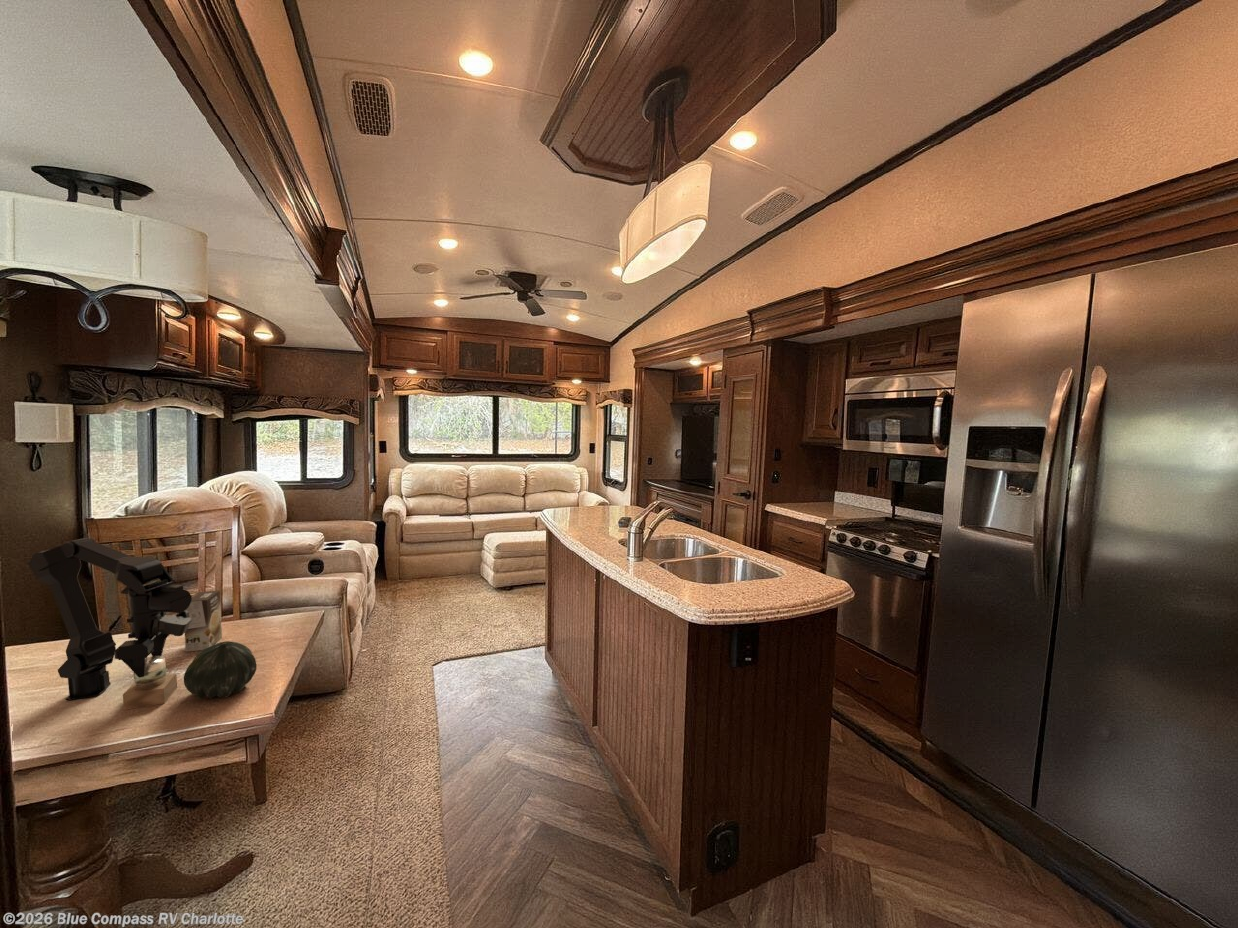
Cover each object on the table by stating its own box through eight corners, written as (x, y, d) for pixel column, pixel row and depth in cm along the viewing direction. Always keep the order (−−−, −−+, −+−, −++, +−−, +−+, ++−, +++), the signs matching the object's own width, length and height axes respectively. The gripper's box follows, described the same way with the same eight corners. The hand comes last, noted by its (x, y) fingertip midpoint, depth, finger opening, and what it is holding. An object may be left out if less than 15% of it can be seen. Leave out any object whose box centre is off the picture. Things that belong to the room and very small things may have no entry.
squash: (203, 658, 141) (187, 634, 131) (266, 652, 146) (255, 629, 136) (186, 711, 132) (167, 690, 122) (254, 703, 137) (242, 682, 127)
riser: (123, 709, 126) (122, 694, 125) (138, 693, 133) (137, 678, 133) (164, 703, 129) (163, 688, 129) (177, 687, 136) (176, 673, 136)
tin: (129, 691, 127) (128, 668, 126) (141, 679, 132) (139, 657, 132) (160, 687, 129) (159, 664, 128) (170, 675, 135) (169, 654, 134)
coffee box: (209, 649, 158) (206, 600, 156) (184, 652, 156) (181, 601, 154) (222, 637, 166) (220, 590, 165) (199, 639, 164) (196, 591, 163)
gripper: (170, 619, 123) (174, 680, 125) (198, 593, 140) (201, 647, 142) (110, 626, 119) (115, 688, 120) (146, 598, 136) (150, 654, 137)
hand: (150, 668), depth 130 cm, fingers open, 9 cm apart
